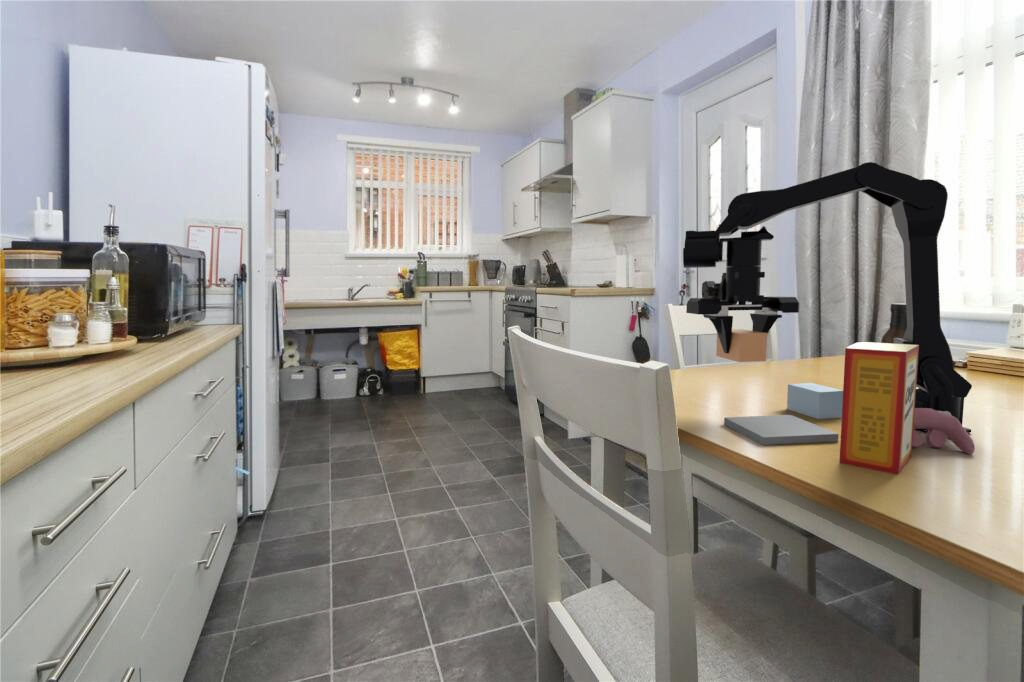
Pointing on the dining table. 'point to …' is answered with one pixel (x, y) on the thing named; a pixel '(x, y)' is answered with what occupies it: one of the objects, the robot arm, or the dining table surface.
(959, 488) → the dining table surface
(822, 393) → the brick top
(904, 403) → the baking soda box
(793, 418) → the baseplate
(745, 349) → the brick bottom
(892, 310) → the sauce bottle
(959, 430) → the video game controller
